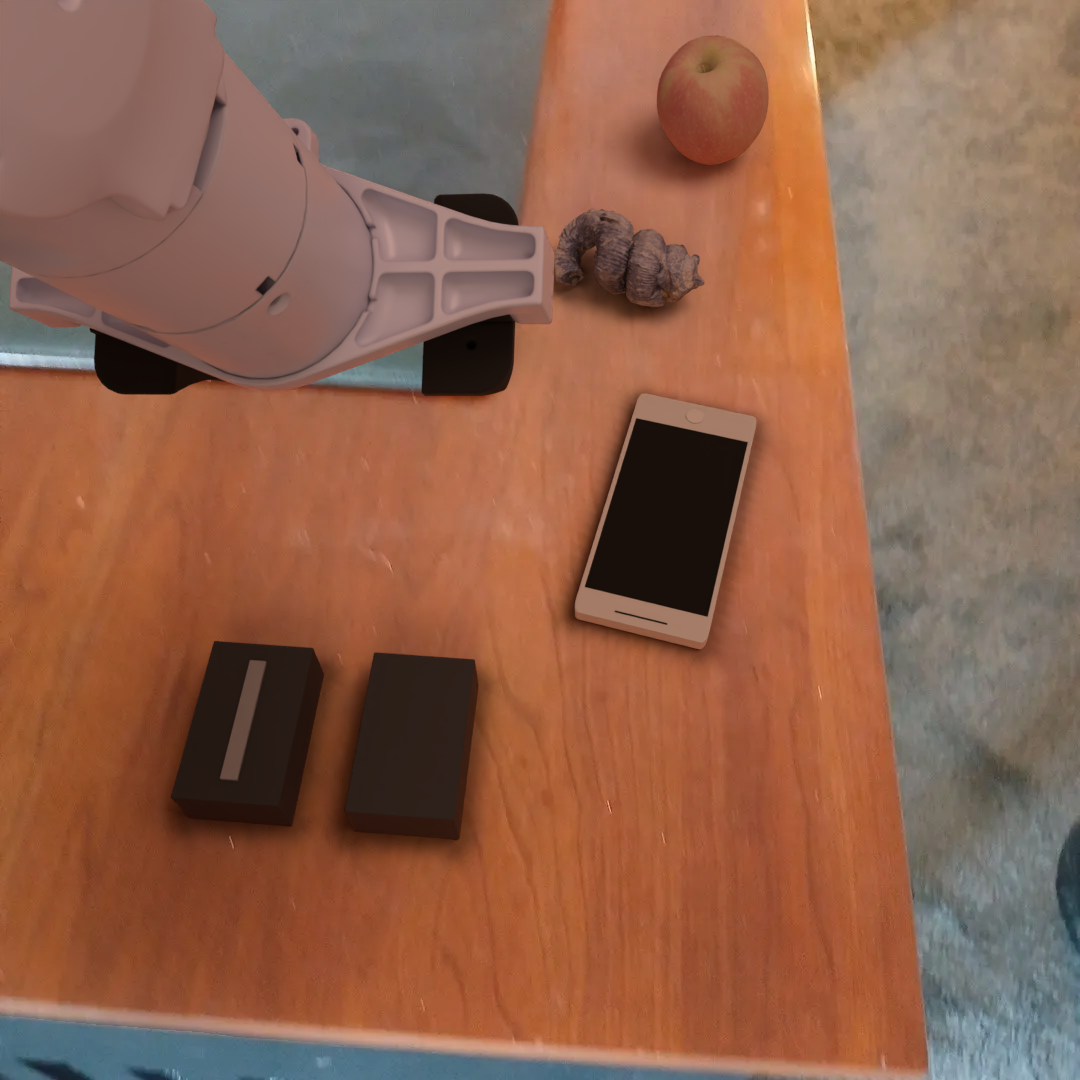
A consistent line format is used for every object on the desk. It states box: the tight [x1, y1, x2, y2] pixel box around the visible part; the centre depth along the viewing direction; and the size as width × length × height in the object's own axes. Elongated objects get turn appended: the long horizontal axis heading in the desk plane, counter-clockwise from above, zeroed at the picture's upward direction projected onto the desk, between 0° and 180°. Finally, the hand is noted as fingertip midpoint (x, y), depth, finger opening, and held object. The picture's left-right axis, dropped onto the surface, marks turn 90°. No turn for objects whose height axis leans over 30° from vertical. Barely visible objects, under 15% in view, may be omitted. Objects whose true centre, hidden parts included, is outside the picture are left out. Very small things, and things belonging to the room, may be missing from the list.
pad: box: [344, 651, 480, 840], centre depth 51 cm, size 8×5×3 cm, turn 175°
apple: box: [656, 35, 770, 166], centre depth 73 cm, size 8×8×8 cm
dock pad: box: [170, 640, 325, 827], centre depth 51 cm, size 8×5×3 cm, turn 175°
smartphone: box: [574, 392, 757, 650], centre depth 59 cm, size 7×16×1 cm, turn 164°
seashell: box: [554, 208, 706, 308], centre depth 67 cm, size 5×5×10 cm
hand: (374, 353), depth 36 cm, fingers open, 7 cm apart
